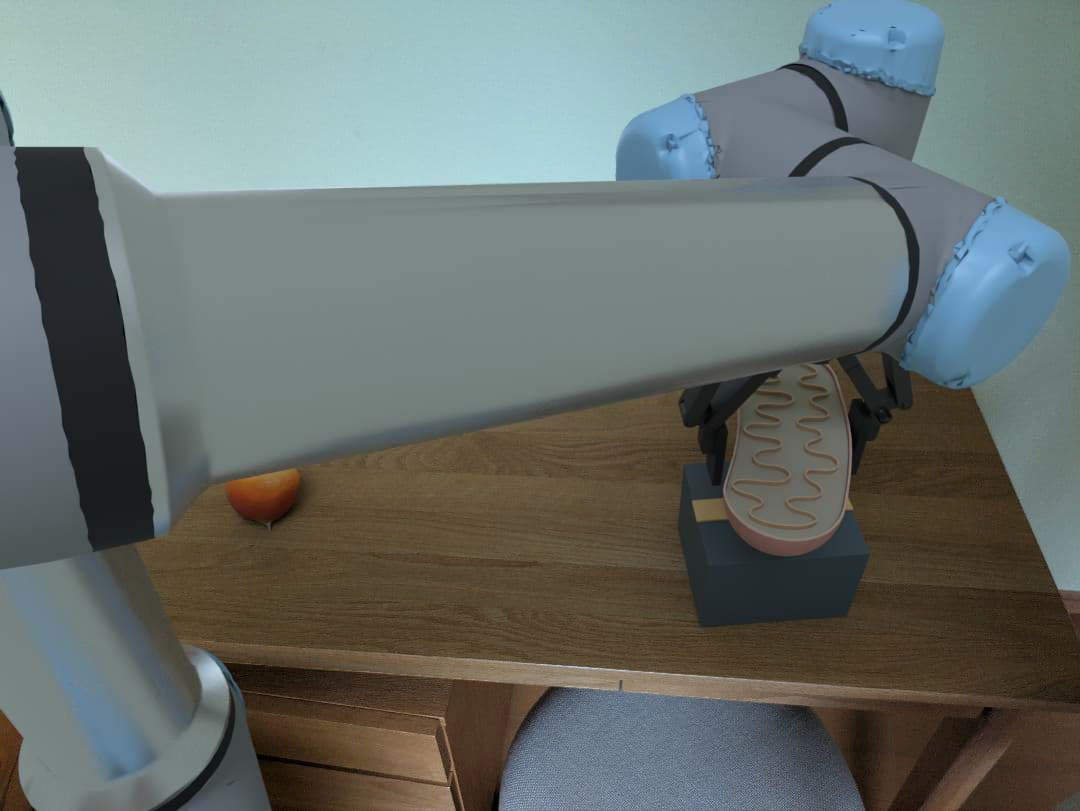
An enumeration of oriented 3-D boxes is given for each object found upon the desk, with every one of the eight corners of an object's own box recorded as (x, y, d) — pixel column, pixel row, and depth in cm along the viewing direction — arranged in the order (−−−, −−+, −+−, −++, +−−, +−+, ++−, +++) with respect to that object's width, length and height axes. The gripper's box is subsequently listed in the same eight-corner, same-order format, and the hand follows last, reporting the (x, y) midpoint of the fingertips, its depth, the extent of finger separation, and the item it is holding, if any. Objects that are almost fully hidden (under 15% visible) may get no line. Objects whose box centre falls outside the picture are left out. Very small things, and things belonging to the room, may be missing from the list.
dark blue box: (698, 627, 74) (707, 564, 67) (676, 527, 83) (682, 462, 76) (848, 616, 74) (872, 552, 67) (809, 517, 83) (828, 451, 76)
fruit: (207, 530, 85) (207, 460, 83) (253, 507, 92) (254, 442, 90) (271, 545, 82) (273, 474, 81) (313, 520, 90) (315, 454, 88)
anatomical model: (729, 381, 77) (735, 341, 74) (834, 392, 75) (845, 351, 72) (713, 570, 61) (719, 530, 58) (846, 590, 59) (861, 550, 55)
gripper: (973, 211, 56) (897, 428, 71) (647, 237, 56) (640, 448, 71) (1026, 268, 50) (931, 490, 65) (664, 298, 50) (652, 512, 65)
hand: (779, 468), depth 68 cm, fingers closed on anatomical model, 11 cm apart
